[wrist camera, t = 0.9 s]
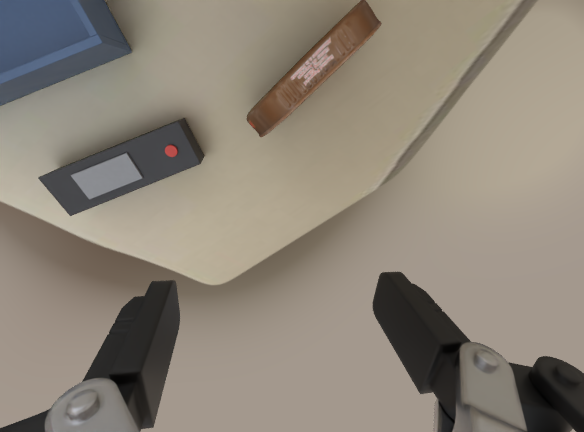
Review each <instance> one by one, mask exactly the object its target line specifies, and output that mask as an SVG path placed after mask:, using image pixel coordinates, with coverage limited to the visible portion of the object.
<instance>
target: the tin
mask: <svg viewBox="0 0 584 432" xmlns="http://www.w3.org/2000/svg"><path fill="white" fill-rule="evenodd" d="M380 26H381V22H380V21H379V20H378V19H377V17H376V16H375V14H374V12H373V11H372V9H371V7H370V6H369V4H368V3H367V2H366V1H365V0H361V1H360V2H359V3H358V4H357V5H356V6H355V7H354V8H353V9H352V10H351V11H350V12H349V13H348V14H347V15H346V16H345V17H343V18H342V19H341V20H340V21H339V22H338V23H337V24H336V25H335V26H334V27H333V28H332V29H331V30H330V31H329V32H328V33H327V34H326V35H325V36H324V37H323V38H322V39H321V40H320V41H319V42H318V43H317V44H316V45H315V46H314V47H313V48H312V49H311V50H310V51H308V52H307V53H306V54H305V55H304V56H303V57H302V58H301V59H300V60H299V61H298V62H297V63H296V64H295V65H294V66H293V68H292V69H291V70H290V71H289V72H288V73H287V74H286V75H285V76H284V77H283V78H282V79H281V80H280V81H279V82H278V83H277V84H276V85H275V86H274V87H273V88H272V89H271V90H270V91H269V92H268V93H267V94H266V95H265V96H264V97H263V98H262V99H261V100H260V101H259V102H258V103H257V104H256V105H255V106H254V107H253V108H252V109H251V111H250V112H249V113H248V115H247V121H248V122H249V124H250V125H251V126H252V127H253V128H254V129H255V130H256V131H257V132H258V133H259V136H260V137H263V136H265V135H266V134H268V133H269V132H270V131H272V130H273V129H274V128H275V127H276V126H278V125H279V124H280V123H281V122H282V121H283V120H284V119H285V118H287V117H288V116H289V115H290V114H291V113H292V112H293V111H294V110H295V109H296V108H297V107H298V106H299V105H300V104H302V103H303V102H304V101H305V100H306V99H307V98H308V97H309V96H310V95H311V94H312V93H313V92H314V91H315V90H316V89H317V88H318V87H319V86H320V85H321V84H322V83H323V82H325V81H326V80H327V79H328V78H329V77H330V76H331V75H332V74H333V73H334V72H335V71H336V70H337V69H338V68H339V67H340V66H341V65H342V64H343V63H344V62H345V61H347V60H348V59H349V58H350V57H351V56H352V55H353V54H354V53H355V52H356V51H357V50H358V49H359V48H360V47H361V46H362V45H363V44H364V43H365V42H366V41H367V40H368V39H369V38H370V37H371V36H372V35H373V34H374V33H375V32H376V31H377V29H378V28H379V27H380Z"/></svg>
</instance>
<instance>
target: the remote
mask: <svg viewBox="0 0 584 432" xmlns="http://www.w3.org/2000/svg"><path fill="white" fill-rule="evenodd" d="M203 158H204V155H203V153H202V151H201V149H200V147H199V145H198V143H197V141H196V139H195V137H194V135H193V133H192V131H191V129H190V128H189V126H188V124H187V122H186V120H185V118H183V119H180V120H178V121H175V122H173V123H170V124H168V125H165V126H163V127H160V128H158V129H155V130H153V131H150V132H148V133H146V134H143V135H141V136H138V137H136V138H133V139H131V140H128V141H126V142H123V143H121V144H118V145H116V146H113V147H111V148H108V149H106V150H103V151H101V152H98V153H96V154H93V155H91V156H88V157H86V158H83V159H81V160H79V161H76V162H74V163H71V164H69V165H66V166H64V167H61V168H59V169H56V170H54V171H52V172H50V173H47V174H45V175H43V176H41V177H39V179H40V181H41V182H42V183H43V184H44V185H45V187H46V188H47V189H48V190H49V191H50V193H51V194H52V195H53V196H54V197H55V199H56V200H57V201H58V202H59V203H60V204H61V206H62V207H63V208H64V209H65V210H66V212H67V213H68V214H69V215H70V216H72V215H74V214H77V213H79V212H82V211H84V210H87V209H89V208H92V207H94V206H97V205H99V204H102V203H104V202H107V201H109V200H112V199H114V198H117V197H119V196H122V195H124V194H127V193H129V192H132V191H134V190H136V189H139V188H141V187H144V186H146V185H149V184H151V183H154V182H156V181H159V180H161V179H164V178H166V177H169V176H171V175H174V174H176V173H179V172H181V171H184V170H186V169H189V168H191V167H194V166H196V165H199V164H201V162H202V160H203Z"/></svg>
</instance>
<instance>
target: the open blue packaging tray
mask: <svg viewBox="0 0 584 432" xmlns="http://www.w3.org/2000/svg"><path fill="white" fill-rule="evenodd" d="M129 53H132V51H131V49H130V47H129V45H128V43H127V41H126V39H125V38H124V36H123V34H122V32H121V30H120V28H119V27H118V25H117V23H116V21H115V19H114V17H113V15H112V14H111V12H110V10H109V8H108V6H107V4H106V3H105V1H104V0H0V106H1V105H3V104H6V103H8V102H11V101H13V100H16V99H18V98H20V97H23V96H25V95H28V94H30V93H33V92H35V91H38V90H40V89H43V88H45V87H48V86H50V85H53V84H55V83H58V82H60V81H63V80H65V79H67V78H70V77H72V76H75V75H77V74H80V73H82V72H85V71H87V70H90V69H92V68H95V67H97V66H100V65H102V64H105V63H107V62H109V61H112V60H114V59H117V58H119V57H122V56H124V55H127V54H129Z"/></svg>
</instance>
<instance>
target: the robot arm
mask: <svg viewBox="0 0 584 432" xmlns="http://www.w3.org/2000/svg"><path fill="white" fill-rule="evenodd" d="M373 311H374V314H375V317H376V319H377V320H378V322H379V324H380V325H381V327H382V329H383V331H384V333H385V334H386V336H387V337H388V339H389V341H390V343H391V344H392V346H393V348H394V350H395V351H396V353H397V355H398V357H399V358H400V360H401V361H402V363H403V365H404V367H405V368H406V370H407V372H408V374H409V375H410V377H411V379H412V381H413V382H414V384H415V386H416V387H417V389H418V391H419V393H420V394H424V393H431V392H434V394H435V395H436V397H437V400H436V402H435V408H434V431H433V432H570V431H571V430H572V429H574V430H575V431H576V432H584V373H582V372H581V371H580V370H578V369H577V368H575V367H574V366H572V365H570V364H568V363H566V362H564V361H562V360H559V359H557V358H553V357H547V356H543V357H540V358H538V359H537V361H536V362H535V364H534V366H533V367H529V366H523V365H518V364H513V363H508V362H507V361H506V360H505V359H504V358H503V357H502V356H501V355H500V354H499V353H497V352H496V351H495V350H493V349H491V348H489V347H487V346H485V345H483V344H480V343H475V342H471V341H470V340H469V339H468V338H467V337H466V336H465V335H464V334H463V332H462V331H461V330H460V329H459V328H458V327H457V326H456V325H455V324H454V322H453V321H452V320H451V319H450V318H449V317H448V316H447V315H446V314H445V312H442V309H441V308H440V307H439V306H438V305H437V304H436V303H435V302H434V300H433V299H432V298H431V297H430V296H429V295H428V294H427V293H426V291H424V290H423V289H421V288H420V287H418V286H417V285H415V284H411V282H410V281H409V280H408V279H407V278H406V277H405V275H404V274H403V273H401V272H384V273H381V274H380V276H379V279H378V284H377V288H376V292H375V295H374V300H373ZM179 323H180V311H179V303H178V295H177V287H176V282H175V281H174V280H170V281H152V282H151V284H150V286H149V288H148V290H147V292H146V294H145V296H141V297H134V298H133V299H132V300H130V301H129V302H128V303H127V304H126V305H125V306H124V307H123V308H122V309H121V311H120V313H119V315H118V317H117V318H116V320H115V323H114V324H113V326H112V328H111V330H110V332H109V335H107V337H106V339H105V341H104V343H103V345H102V346H101V349H100V350H99V352H98V354H97V356H96V357H95V359H94V361H93V363H92V365H91V367H90V369H89V370H88V372H87V374H86V376H85V378H84V379H83V381H82V382H81V383H79V384H77V385H75V386H74V387H72V388H71V389H69V390H68V391H67V392H65V393H64V394H63V395H62V396H61V397H59V399H58V400H57V401H56V402H55V403H54V404H53V406H52V407H51V408H50V409H49V410H47V411H45V412H42V413H40V414H38V415H35V416H32V417H30V418H27V419H24V420H22V421H19V422H16V423H13V424H11V425H8V426H6V427H3V428H0V432H140V431H141V429H145V428H153V427H154V423H155V419H156V415H157V411H158V407H159V404H160V400H161V396H162V391H163V388H164V384H165V380H166V377H167V373H168V369H169V365H170V361H171V357H172V353H173V349H174V346H175V341H176V337H177V334H178V330H179Z"/></svg>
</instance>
